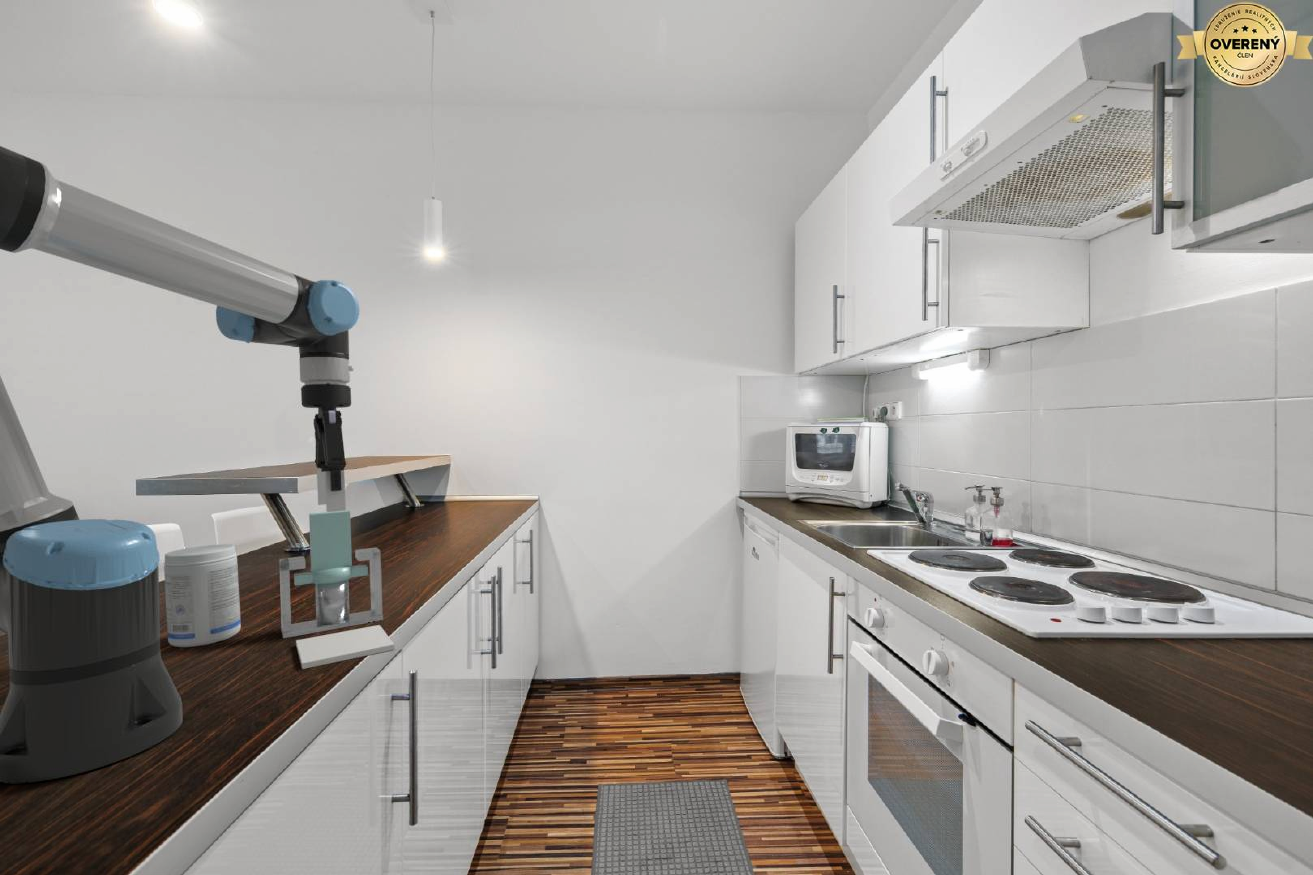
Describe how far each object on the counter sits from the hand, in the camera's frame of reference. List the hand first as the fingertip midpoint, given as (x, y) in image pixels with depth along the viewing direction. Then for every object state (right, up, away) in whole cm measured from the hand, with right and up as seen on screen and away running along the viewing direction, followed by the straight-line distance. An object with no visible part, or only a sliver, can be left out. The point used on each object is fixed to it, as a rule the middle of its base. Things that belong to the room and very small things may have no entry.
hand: (331, 507), depth 103 cm
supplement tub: (-18, -21, -5) cm, 28 cm away
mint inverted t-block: (0, -12, 0) cm, 12 cm away
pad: (+8, -20, -12) cm, 25 cm away
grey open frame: (0, -20, 0) cm, 20 cm away
